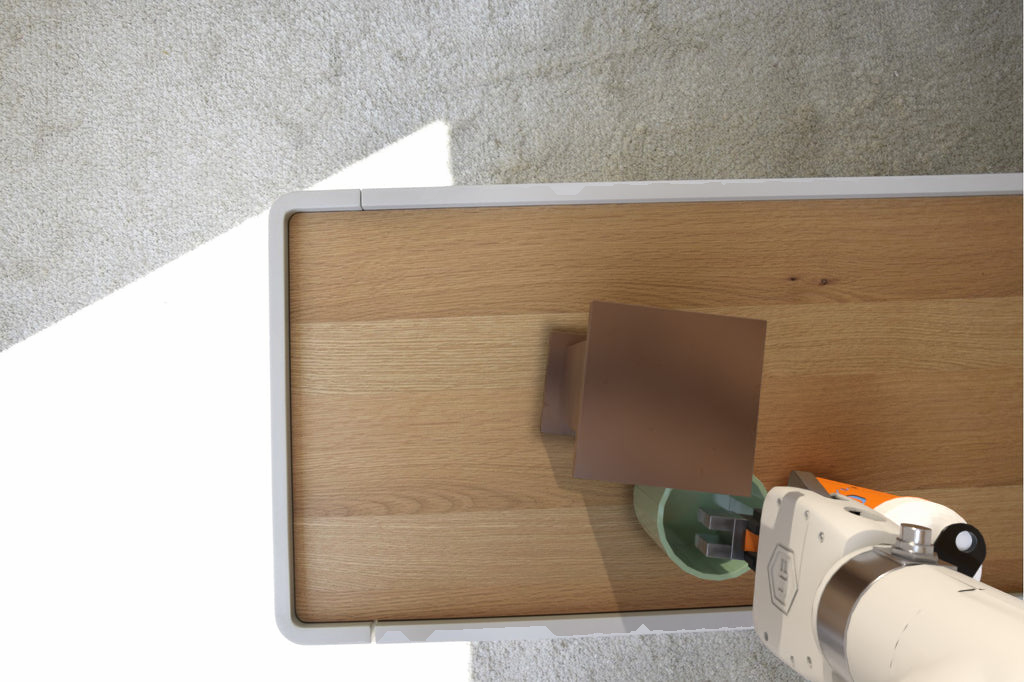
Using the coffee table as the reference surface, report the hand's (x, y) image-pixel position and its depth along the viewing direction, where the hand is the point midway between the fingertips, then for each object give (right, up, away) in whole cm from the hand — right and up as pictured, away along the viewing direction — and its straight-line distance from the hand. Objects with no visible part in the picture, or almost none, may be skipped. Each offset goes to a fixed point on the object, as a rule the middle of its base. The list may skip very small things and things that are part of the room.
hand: (755, 534), depth 50 cm
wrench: (-1, 0, +1) cm, 1 cm away
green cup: (-2, -1, +15) cm, 15 cm away
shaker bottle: (+11, -2, +15) cm, 19 cm away
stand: (-10, +10, +15) cm, 21 cm away
